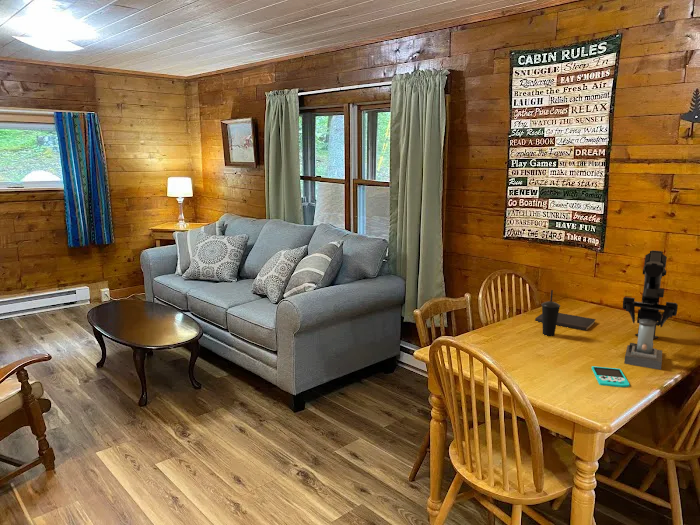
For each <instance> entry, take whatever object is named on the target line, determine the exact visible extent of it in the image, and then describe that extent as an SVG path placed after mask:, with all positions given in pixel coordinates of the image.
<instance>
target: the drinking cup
mask: <svg viewBox="0 0 700 525" xmlns="http://www.w3.org/2000/svg"><path fill="white" fill-rule="evenodd" d="M553 293H554V289H553V290H552V289H551V290H550V299H549V300H550V301H549V300H548V301H544V302H541V309H542V310H541V311H542V312H541V314H542V323H541V324H542V335H543V334H544V335H543V336H545V335H547V336H546V337H554V336H555V334H556V329H557V326H556V323H557V318H558V313H560V312H559V311H560V307H561V305H560V303H558V302H555V301H553V296H554V295H553Z"/></svg>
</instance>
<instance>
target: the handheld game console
mask: <svg viewBox="0 0 700 525" xmlns="http://www.w3.org/2000/svg"><path fill="white" fill-rule="evenodd" d="M591 371H592V372H593V375H594V377H595V378H596V382H597V383H598V385H599V386H606V387H613V388H614V387H616V388H628V387H630V383H629V382H630V381H629V380H628V379H627V377H626V376H625V374H624V373H623V371H622V369H621V368H616V367H615V368H613V367H605V366H603V367H602V366H595V365H594V366H593V365H592V366H591Z"/></svg>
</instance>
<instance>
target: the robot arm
mask: <svg viewBox="0 0 700 525" xmlns="http://www.w3.org/2000/svg"><path fill="white" fill-rule="evenodd" d="M667 258H668V257H667V256H666V255H665V254H664V251H662V250H653V249H652V250H650V251H649V253H647V254H646V255H644V265H643V268H642V275H644V283H643V290H642V294H641V295H642V296H641V301H637V300H636V301H635V298H636V297H629V296H625V297H623V299H622V309H623V310H625V311H626V312H628V314H629V316H630V317H631V320H632V324H635V322H636V323H637V324H639V320H640V319H650V320H653V321H655V322H656V324H655V327H654V336H653V340H654V339H658V338H659V337H658V336H657V335H656V331H657V330H656V329H657V327H659V326H660V328H662V327H663V326H664V324H665V322H666V321H667V320H668V319H669V318H672V317H676V316H677V312H678V309H679V308H678V303H677V302H670V301H666V302H665V305H664V304H659V301H660V298H664V296H665V289H664V288H661V283H662V279H663V277H665V276H667V270H666V266H667ZM636 307H637V308H640V309H637V318H636V313H635V312H636ZM661 311H663V314H661ZM637 330H638V332H637V333H635V334H634V336H636V337H638V333H639V328H637Z"/></svg>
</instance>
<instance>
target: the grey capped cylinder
mask: <svg viewBox="0 0 700 525" xmlns="http://www.w3.org/2000/svg"><path fill="white" fill-rule="evenodd" d="M638 324H639V326H638V329H639V333H638V332H637V334H638V336H637V343H636V344H637V351H636V352H641V353H648V354H651V353H652V344H653V345H654V339H653V336H654V327H655V324H656V322H655V321H653V320H650V319H640V320H639V323H638Z"/></svg>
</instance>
